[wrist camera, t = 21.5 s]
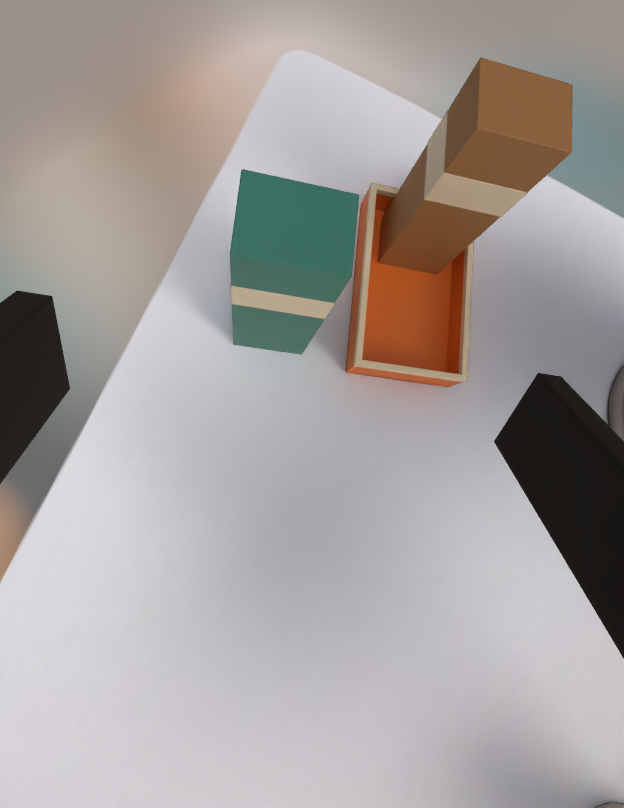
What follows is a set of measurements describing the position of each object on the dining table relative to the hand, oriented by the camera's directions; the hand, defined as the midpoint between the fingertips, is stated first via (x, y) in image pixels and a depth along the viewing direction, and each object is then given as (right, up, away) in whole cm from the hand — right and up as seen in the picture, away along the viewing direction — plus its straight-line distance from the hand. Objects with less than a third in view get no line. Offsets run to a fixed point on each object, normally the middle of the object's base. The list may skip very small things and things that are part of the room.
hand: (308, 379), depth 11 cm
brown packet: (+9, +14, +27) cm, 32 cm away
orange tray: (+9, +10, +27) cm, 30 cm away
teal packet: (-4, +6, +24) cm, 25 cm away
